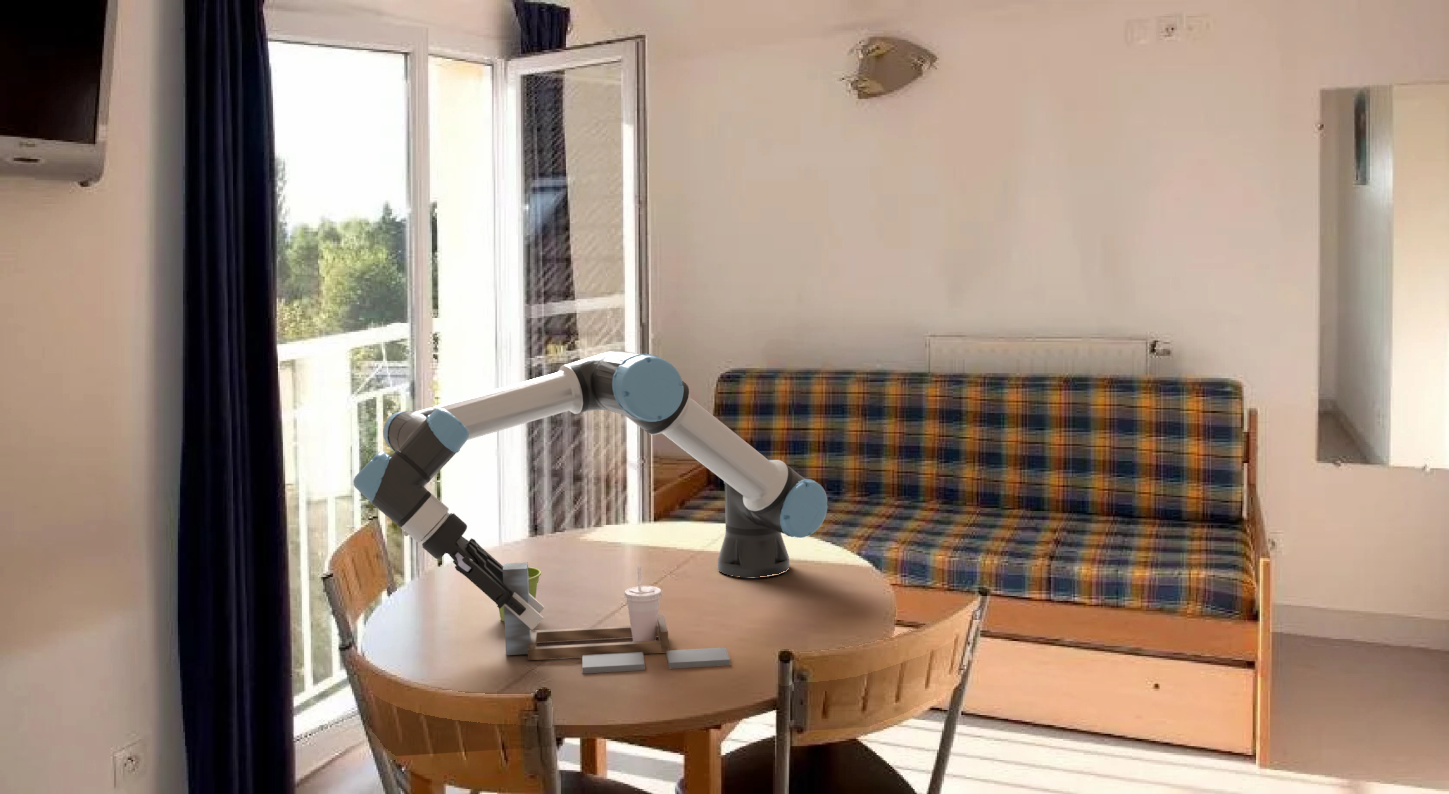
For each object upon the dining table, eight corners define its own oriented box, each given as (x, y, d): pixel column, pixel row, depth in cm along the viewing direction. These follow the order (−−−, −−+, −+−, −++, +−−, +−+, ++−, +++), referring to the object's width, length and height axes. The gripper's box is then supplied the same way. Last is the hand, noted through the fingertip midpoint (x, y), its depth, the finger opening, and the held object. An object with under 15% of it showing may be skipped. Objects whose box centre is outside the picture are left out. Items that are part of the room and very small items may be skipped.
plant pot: (519, 629, 220) (517, 582, 219) (480, 621, 225) (478, 576, 224) (553, 615, 228) (551, 570, 227) (514, 608, 233) (513, 564, 232)
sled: (664, 633, 216) (662, 551, 214) (668, 652, 206) (666, 567, 204) (508, 641, 213) (505, 558, 211) (504, 661, 203) (501, 574, 201)
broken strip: (725, 653, 206) (725, 647, 206) (730, 665, 200) (729, 659, 200) (582, 660, 204) (582, 655, 204) (582, 673, 198) (582, 667, 198)
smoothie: (627, 639, 214) (625, 561, 212) (664, 639, 214) (662, 561, 212) (623, 651, 208) (621, 571, 206) (661, 651, 208) (659, 571, 206)
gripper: (426, 531, 213) (525, 618, 217) (412, 558, 195) (520, 652, 199) (456, 500, 213) (554, 587, 217) (445, 524, 195) (552, 618, 199)
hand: (538, 618), depth 208 cm, fingers open, 5 cm apart
